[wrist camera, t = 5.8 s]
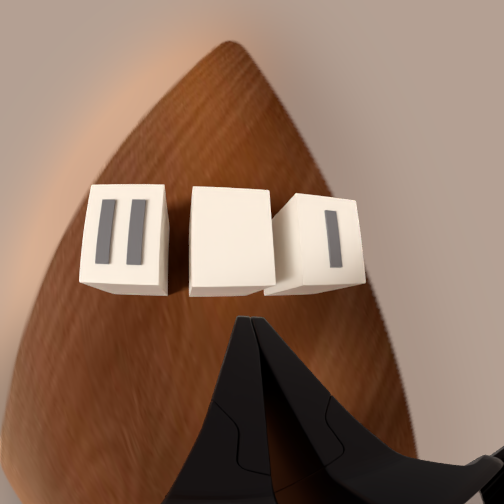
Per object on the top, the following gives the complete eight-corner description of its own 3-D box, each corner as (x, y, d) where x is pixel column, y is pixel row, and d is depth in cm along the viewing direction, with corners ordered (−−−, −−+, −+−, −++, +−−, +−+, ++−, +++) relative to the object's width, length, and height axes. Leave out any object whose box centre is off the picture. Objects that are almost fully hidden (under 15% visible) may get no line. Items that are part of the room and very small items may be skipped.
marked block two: (167, 295, 19) (158, 284, 12) (113, 293, 18) (78, 281, 11) (169, 224, 20) (164, 178, 13) (118, 223, 19) (91, 179, 12)
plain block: (244, 295, 20) (276, 285, 13) (189, 296, 19) (192, 286, 12) (241, 229, 21) (269, 190, 14) (189, 228, 20) (193, 186, 13)
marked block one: (312, 294, 21) (367, 282, 14) (264, 295, 20) (304, 284, 13) (307, 230, 22) (356, 196, 16) (261, 227, 21) (296, 187, 15)
